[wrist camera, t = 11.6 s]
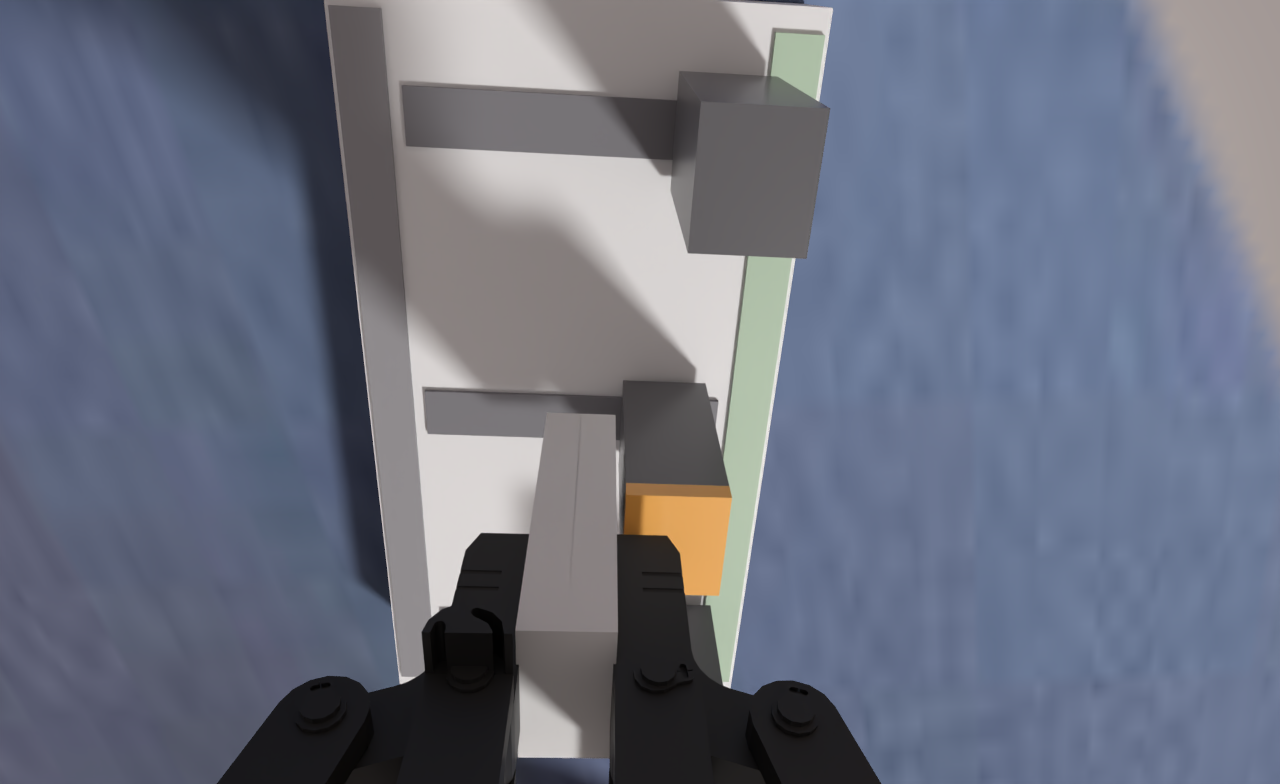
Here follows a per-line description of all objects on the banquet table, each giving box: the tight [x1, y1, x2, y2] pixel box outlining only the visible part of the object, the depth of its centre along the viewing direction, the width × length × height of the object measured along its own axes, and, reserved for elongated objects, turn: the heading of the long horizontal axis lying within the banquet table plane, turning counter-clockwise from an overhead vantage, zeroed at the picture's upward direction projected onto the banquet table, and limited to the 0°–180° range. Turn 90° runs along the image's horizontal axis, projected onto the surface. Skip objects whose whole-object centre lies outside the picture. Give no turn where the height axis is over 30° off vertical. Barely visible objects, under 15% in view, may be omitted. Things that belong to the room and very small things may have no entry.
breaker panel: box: [324, 0, 833, 688], centre depth 21 cm, size 19×10×3 cm, turn 177°
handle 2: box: [670, 71, 830, 259], centre depth 15 cm, size 2×2×4 cm
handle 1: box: [686, 605, 723, 685], centre depth 21 cm, size 2×2×4 cm
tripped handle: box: [618, 380, 732, 596], centre depth 18 cm, size 2×2×5 cm
